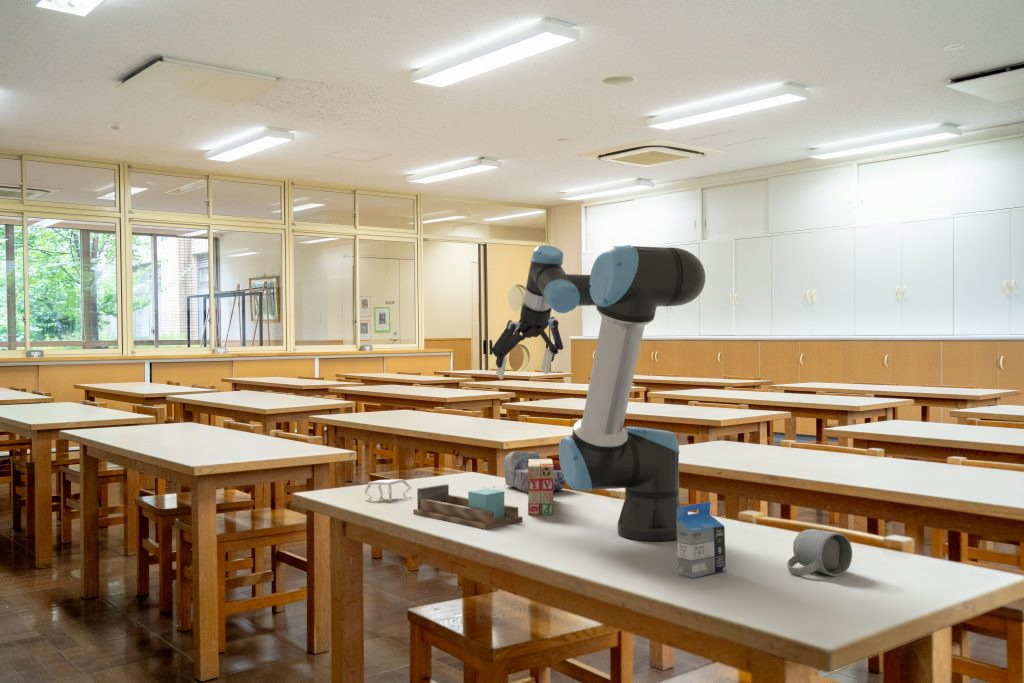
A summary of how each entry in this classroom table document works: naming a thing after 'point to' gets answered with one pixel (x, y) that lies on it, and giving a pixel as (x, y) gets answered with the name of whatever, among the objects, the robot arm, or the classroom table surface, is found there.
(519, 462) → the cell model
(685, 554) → the label tape box
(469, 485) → the classroom table surface
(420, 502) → the chute
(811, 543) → the ceramic mug
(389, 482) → the white bent leg stand
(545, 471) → the stack of blocks
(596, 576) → the classroom table surface
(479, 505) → the block
